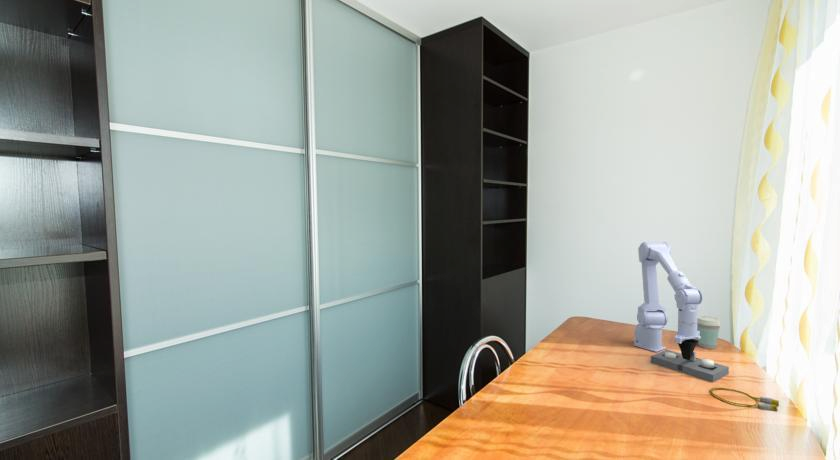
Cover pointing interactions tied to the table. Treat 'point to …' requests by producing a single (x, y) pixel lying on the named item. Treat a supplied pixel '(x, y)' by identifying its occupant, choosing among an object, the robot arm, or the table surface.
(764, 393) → the table surface
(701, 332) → the coffee cup
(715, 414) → the table surface
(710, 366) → the button
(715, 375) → the switch panel
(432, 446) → the table surface
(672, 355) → the button
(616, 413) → the table surface
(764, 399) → the extension cord
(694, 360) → the slider tab
